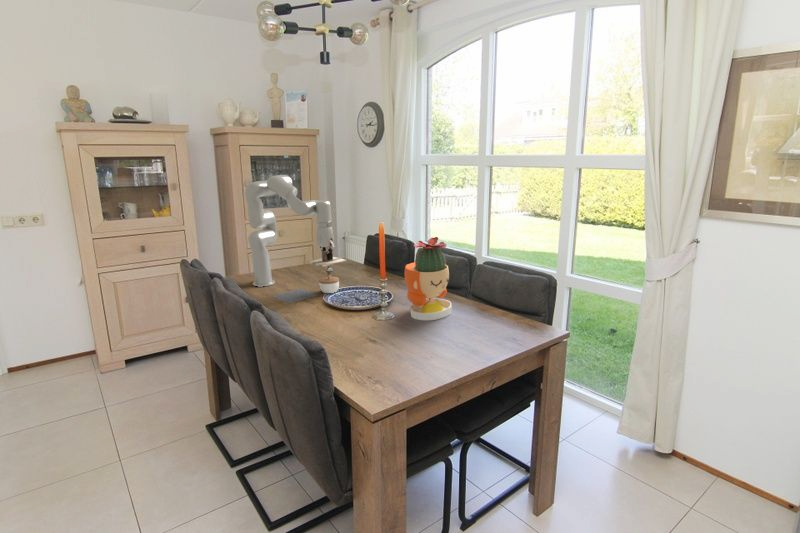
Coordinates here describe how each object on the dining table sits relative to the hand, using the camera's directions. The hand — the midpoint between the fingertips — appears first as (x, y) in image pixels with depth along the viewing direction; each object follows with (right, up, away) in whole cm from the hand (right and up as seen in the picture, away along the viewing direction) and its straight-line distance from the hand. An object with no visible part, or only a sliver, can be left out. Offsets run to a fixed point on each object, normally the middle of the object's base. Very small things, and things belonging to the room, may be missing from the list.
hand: (327, 258), depth 242 cm
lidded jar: (+1, -19, +5) cm, 19 cm away
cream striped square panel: (-17, -20, +1) cm, 26 cm away
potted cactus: (+51, -25, -28) cm, 64 cm away
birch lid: (0, -2, 0) cm, 2 cm away
